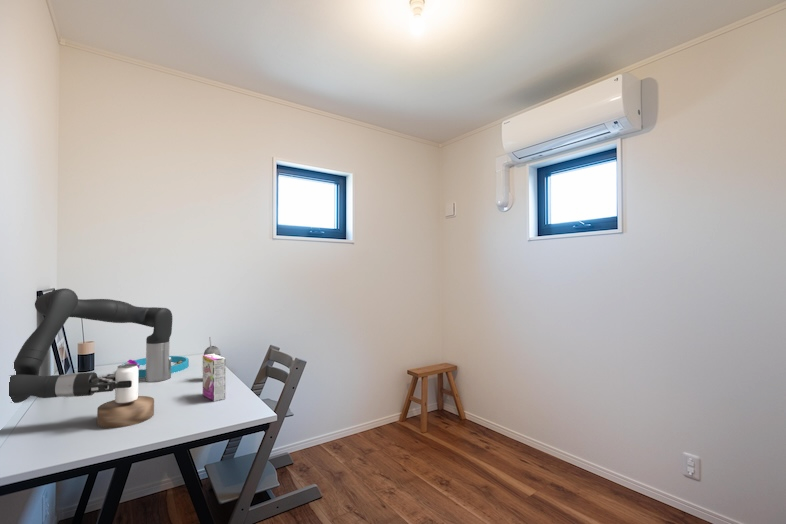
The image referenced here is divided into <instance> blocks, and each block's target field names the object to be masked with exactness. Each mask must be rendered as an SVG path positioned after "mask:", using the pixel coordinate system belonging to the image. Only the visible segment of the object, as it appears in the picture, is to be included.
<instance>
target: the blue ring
mask: <svg viewBox="0 0 786 524" xmlns="http://www.w3.org/2000/svg"><path fill="white" fill-rule="evenodd" d="M169 357H171V362H178V363H175V364H172V365H171V374H174V372H175V373H178V371H179V372H182V371H184V370H186V369H188V367H189V364H190V362H189V358H188V357H186V356H181V355H169ZM123 364H137V367H138V376H139V378H146V368H144V369H143V368H140V367H141V366H140V365H142V366H146V365H145V364H146V357H144V358H138V359H134V360H133V359H129V360H128V361H126V362H125V363H121V365H123Z"/></svg>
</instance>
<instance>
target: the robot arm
mask: <svg viewBox="0 0 786 524" xmlns="http://www.w3.org/2000/svg"><path fill="white" fill-rule="evenodd" d="M78 297H79V296H78V295H77V293H76V292H75V291H74V290H72V289H70V288H57V289H54V290H52V291H48V292H45V293H44V294H41V295H40V296H39V297H37V299H35V302H34V307H35V310H36V311H37V313H39V314H40V315H43V316H44V318H43V320H42V321H41V322H40V323H39V325H38V326H37V327H36V329H35V330H34V331H33V332H32V333H31V334H30V335H29V336H28V337H27V339H26V340H25V341H24V343H23V345H22V346H21V348H20V350H19V351H18V353H17V355H16V357H15V359H14V361H13V363H14V368H13V370H14V369H15V370H14V372H15V371H16V375H15V374H12V375H11V374H10V376H11V377H10V382H9V396H10V397H11V399H12V401H13V402H14V403H13V404H19V403H23V402H24V401H26V400H28V399H29V398H30V397H37V398H39V399H50V398H75V397H76V398H77V397H88V396H89V397H91V396H93V395H95V393H96V394H98V393H106V392H107V393H108V392H114V390H116V389H118V388H130V387H131V386H132V381H131V380H129V381H119V382H118V381H116V373H111V374H110V373H108V374H106V375H102V377H98V374H97V373H96V372H95V371H92V372H90V371H89V372H76V373H66V374H65V373H64V374H56V375H55V374H54V375H40V369H41V367H42V365H43V363H44V361H45V358H46V356H47V354H48V352H49V351H50V348H51V346H52V345H53V343H54V340H55V339H56V338H57V336H58V334H59V332H60V331H61V329H62V327H63V326H64V325H65V323H66V322H67V320H68V319H69V318H78V319H84V320H89V321H90V320H91V321H98V322H105V323H111V324H112V323H113V324H115V323H116V324H128V323H129V324H130V323H131V324H138V325H141V326H146V327H150V328H153V329H152V330H153V331H152V334H149V335H148V336H146V339H145V341H146V344H145V345H146V346H145V351H146V352H145V358H146V365H145V369H146V377H145V381H146V382H148V383H153V382H155V383H156V382H161V381H165V380H168V379H171V378H172V373H171V366H172V364H171V357H169V356H170V338H171V336H172V332H173V331H172V330H173V313H172V310H170V309H169V308H167V307H159V306H158V307H154V306H153V307H152V306H151V307H147V306H146V307H144V306H137V305H132V304H131V303H128V302H126V301H121V300H116V299H112V298H111V299H110V298H89V299H85V298H84V299H83V298H82V299H79V298H78ZM139 379H140V377H139V376H138V381H139Z"/></svg>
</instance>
